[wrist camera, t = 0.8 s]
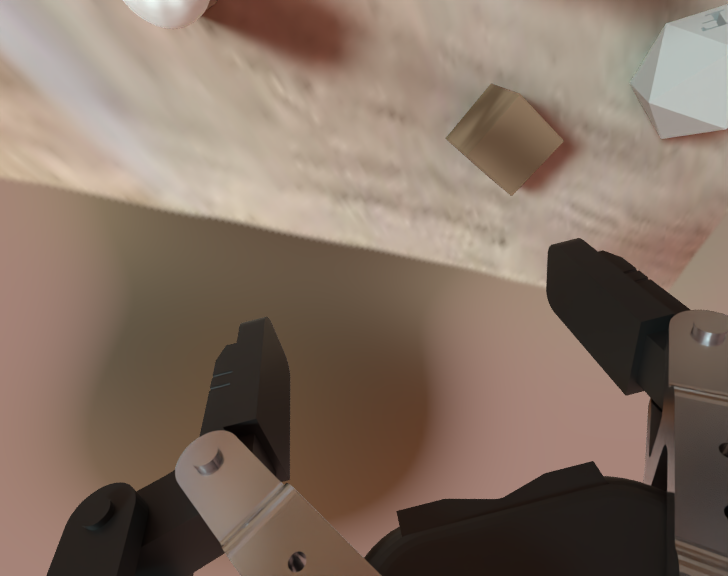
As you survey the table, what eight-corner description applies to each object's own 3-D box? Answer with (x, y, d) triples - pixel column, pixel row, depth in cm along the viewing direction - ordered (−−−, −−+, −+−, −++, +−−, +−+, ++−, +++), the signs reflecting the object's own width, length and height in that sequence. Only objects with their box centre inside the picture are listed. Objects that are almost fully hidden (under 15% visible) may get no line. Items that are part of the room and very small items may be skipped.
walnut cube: (490, 83, 32) (520, 94, 28) (530, 125, 34) (563, 140, 30) (445, 138, 34) (466, 156, 30) (486, 174, 36) (511, 196, 32)
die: (738, 19, 33) (818, -57, 24) (751, 132, 34) (834, 99, 25) (617, 56, 36) (647, 0, 27) (631, 159, 37) (666, 138, 28)
